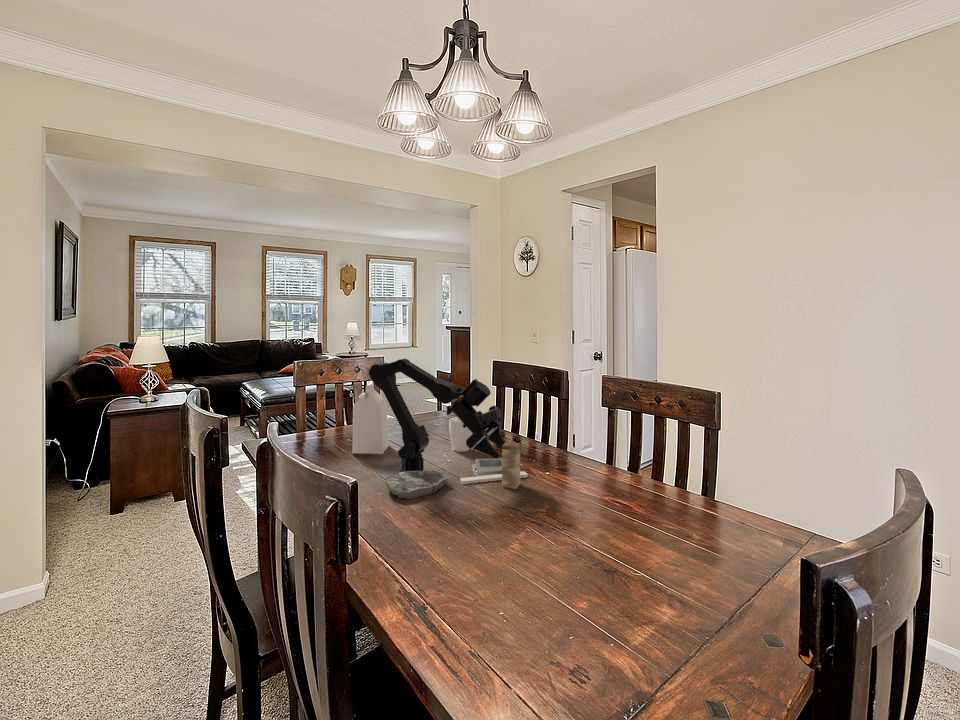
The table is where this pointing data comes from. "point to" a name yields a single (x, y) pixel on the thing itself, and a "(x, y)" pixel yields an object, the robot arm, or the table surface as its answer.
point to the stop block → (511, 465)
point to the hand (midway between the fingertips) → (502, 453)
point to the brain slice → (415, 483)
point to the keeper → (487, 467)
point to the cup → (458, 435)
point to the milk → (370, 423)
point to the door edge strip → (487, 478)
